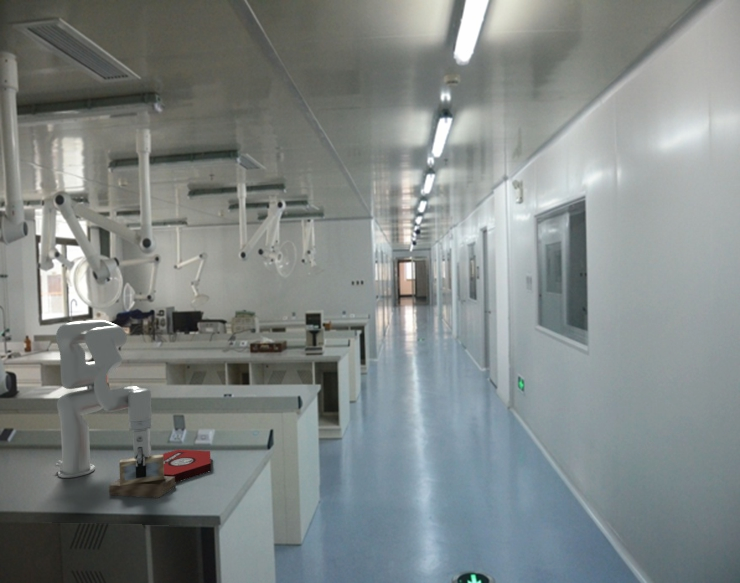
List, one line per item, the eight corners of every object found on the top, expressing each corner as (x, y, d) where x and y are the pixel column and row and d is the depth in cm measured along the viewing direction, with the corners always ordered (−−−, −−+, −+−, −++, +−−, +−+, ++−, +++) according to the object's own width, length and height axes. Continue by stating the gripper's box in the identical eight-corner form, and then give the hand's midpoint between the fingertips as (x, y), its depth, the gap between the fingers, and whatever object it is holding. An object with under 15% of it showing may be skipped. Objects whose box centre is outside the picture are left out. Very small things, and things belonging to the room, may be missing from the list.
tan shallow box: (109, 495, 179) (109, 485, 179) (128, 483, 189) (127, 474, 189) (158, 497, 176) (158, 487, 176) (175, 486, 185) (174, 476, 185)
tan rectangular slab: (120, 485, 179) (119, 462, 178) (121, 482, 181) (120, 459, 181) (163, 479, 183) (162, 457, 183) (164, 476, 186) (163, 454, 186)
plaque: (119, 481, 193) (192, 485, 187) (119, 471, 193) (192, 476, 187) (162, 457, 219) (227, 460, 213) (161, 448, 219) (226, 451, 213)
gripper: (150, 429, 175) (152, 479, 175) (153, 417, 191) (155, 463, 192) (125, 432, 172) (127, 482, 173) (131, 419, 189) (133, 466, 189)
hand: (142, 472), depth 182 cm, fingers open, 9 cm apart
